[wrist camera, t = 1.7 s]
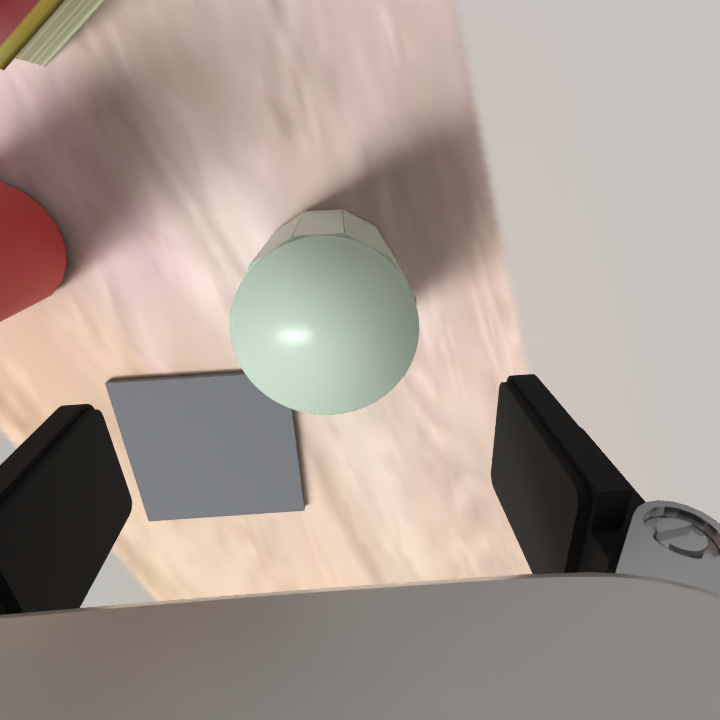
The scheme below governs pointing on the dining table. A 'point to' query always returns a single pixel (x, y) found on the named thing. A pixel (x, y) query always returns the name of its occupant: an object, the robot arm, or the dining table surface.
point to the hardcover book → (40, 27)
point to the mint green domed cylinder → (325, 315)
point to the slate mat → (208, 446)
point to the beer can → (27, 252)
